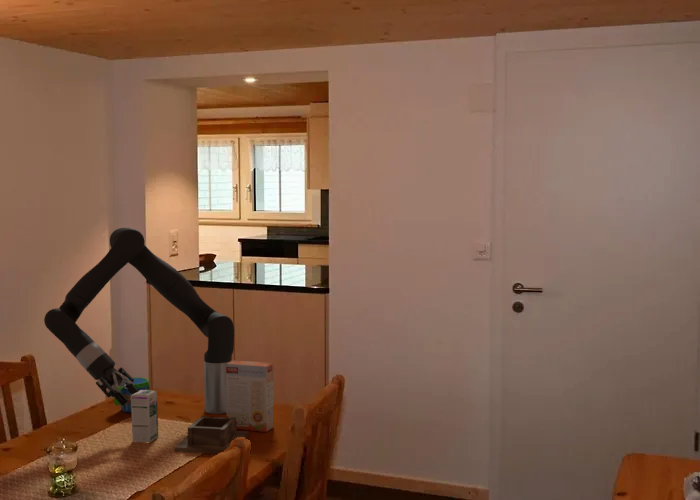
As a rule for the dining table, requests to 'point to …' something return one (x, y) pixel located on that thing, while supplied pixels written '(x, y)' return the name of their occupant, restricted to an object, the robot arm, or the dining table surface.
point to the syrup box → (144, 416)
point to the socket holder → (210, 435)
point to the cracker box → (250, 395)
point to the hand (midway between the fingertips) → (132, 399)
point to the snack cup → (139, 384)
